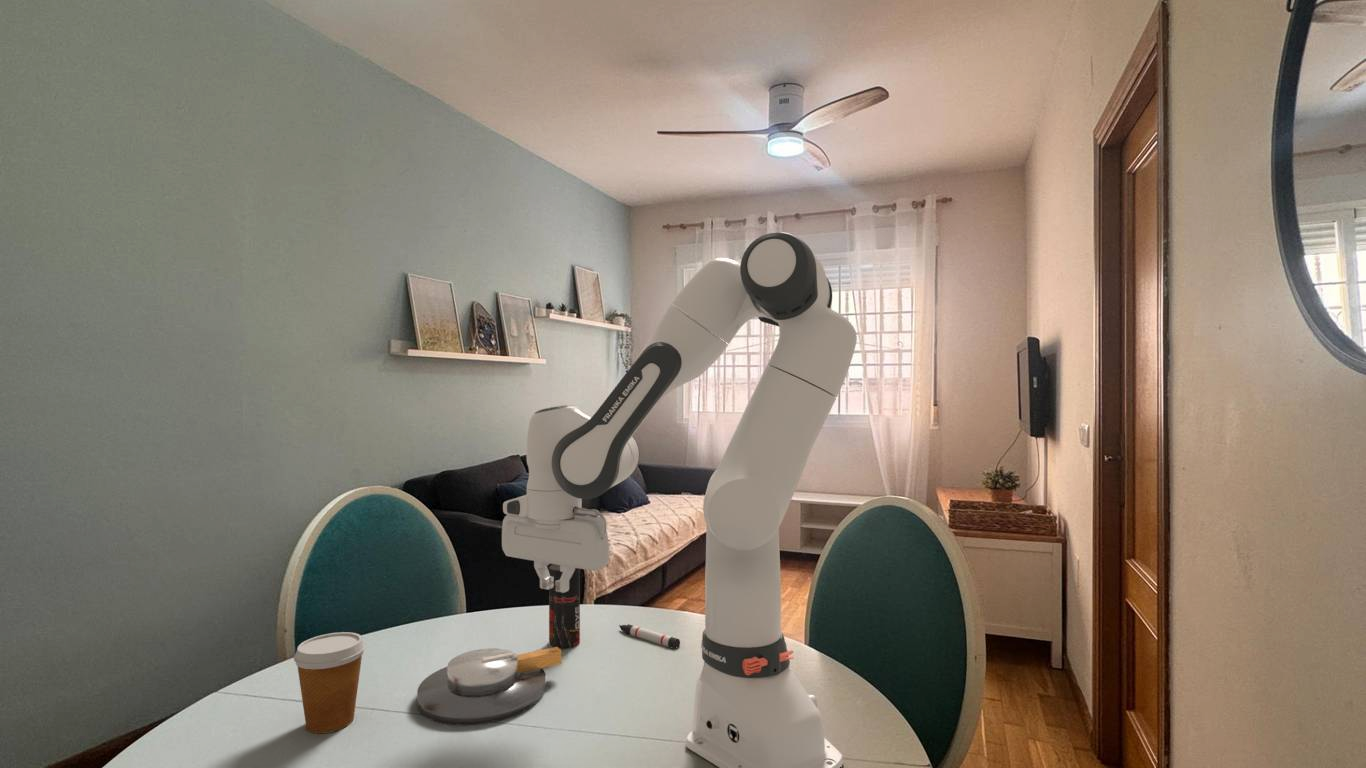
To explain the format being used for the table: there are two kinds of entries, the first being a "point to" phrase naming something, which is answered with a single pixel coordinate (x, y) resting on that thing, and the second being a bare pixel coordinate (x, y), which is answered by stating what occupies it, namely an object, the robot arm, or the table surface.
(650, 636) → the marker
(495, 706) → the plate
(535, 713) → the table surface
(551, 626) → the deodorant
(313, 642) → the disposable coffee cup
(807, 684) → the table surface
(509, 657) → the dial
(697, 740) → the robot arm
